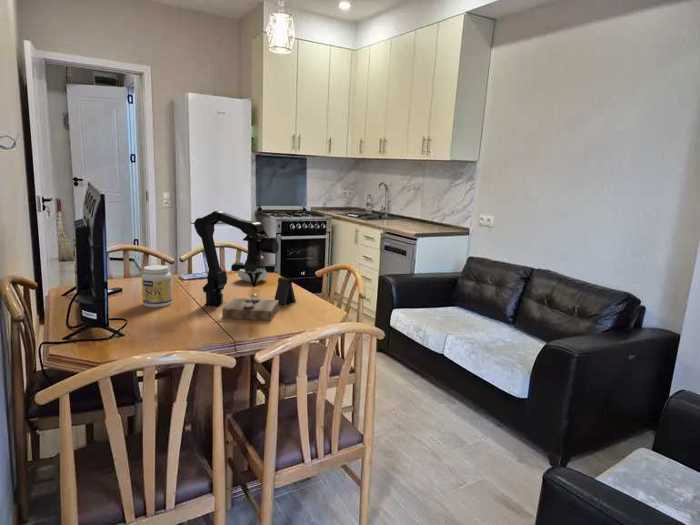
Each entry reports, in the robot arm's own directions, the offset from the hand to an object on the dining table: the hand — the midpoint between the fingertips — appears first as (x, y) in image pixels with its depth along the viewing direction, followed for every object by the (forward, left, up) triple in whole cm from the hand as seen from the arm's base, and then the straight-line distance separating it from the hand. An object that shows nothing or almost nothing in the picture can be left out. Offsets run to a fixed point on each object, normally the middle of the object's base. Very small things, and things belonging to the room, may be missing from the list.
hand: (254, 286), depth 200 cm
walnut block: (0, -5, -10) cm, 12 cm away
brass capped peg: (0, 0, -7) cm, 7 cm away
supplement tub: (-44, +2, -11) cm, 45 cm away
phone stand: (+11, +13, -11) cm, 20 cm away
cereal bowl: (-14, +54, -11) cm, 57 cm away
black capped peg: (0, -10, -7) cm, 12 cm away
